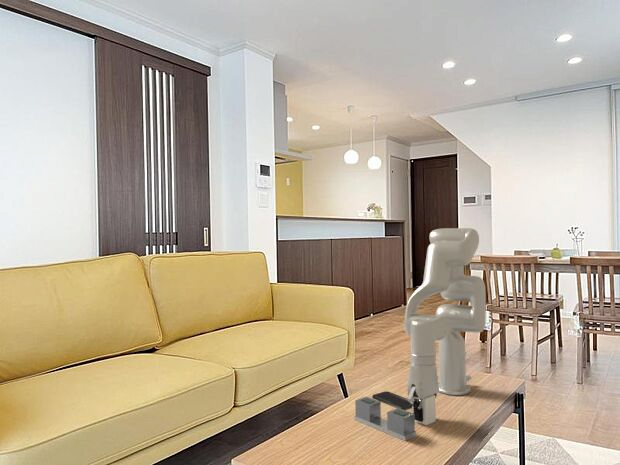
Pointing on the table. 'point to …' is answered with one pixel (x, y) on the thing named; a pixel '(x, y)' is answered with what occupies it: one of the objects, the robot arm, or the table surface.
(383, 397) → the phone
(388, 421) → the rail
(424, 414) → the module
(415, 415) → the robot arm
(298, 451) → the table surface
